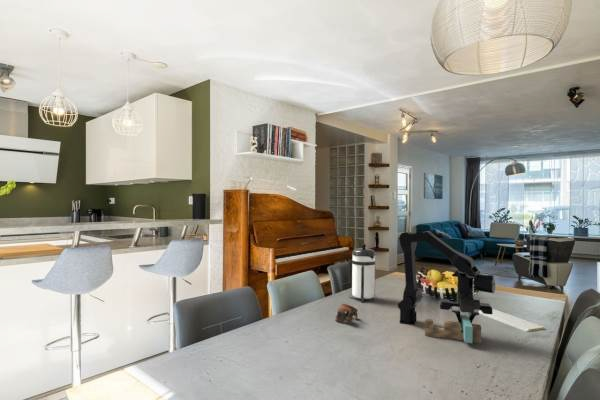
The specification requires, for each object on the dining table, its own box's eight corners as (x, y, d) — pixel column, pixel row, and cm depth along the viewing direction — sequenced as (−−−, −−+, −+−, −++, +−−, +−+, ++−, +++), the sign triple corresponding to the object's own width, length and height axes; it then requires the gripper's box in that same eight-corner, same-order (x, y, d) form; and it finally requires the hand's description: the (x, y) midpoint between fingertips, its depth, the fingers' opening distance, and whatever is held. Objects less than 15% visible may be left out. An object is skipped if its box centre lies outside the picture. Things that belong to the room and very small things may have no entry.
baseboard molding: (523, 333, 143) (544, 330, 147) (523, 326, 143) (544, 323, 147) (465, 310, 173) (484, 308, 177) (465, 304, 173) (484, 303, 177)
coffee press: (378, 296, 195) (379, 242, 195) (375, 304, 180) (376, 246, 180) (348, 293, 201) (348, 241, 201) (342, 300, 186) (343, 244, 186)
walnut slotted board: (425, 335, 138) (425, 320, 138) (424, 333, 140) (425, 318, 140) (481, 342, 132) (481, 326, 132) (480, 340, 134) (480, 324, 134)
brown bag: (331, 319, 157) (337, 301, 160) (349, 328, 158) (355, 310, 161) (340, 321, 146) (347, 302, 149) (359, 330, 147) (366, 311, 150)
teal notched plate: (460, 329, 141) (460, 314, 141) (467, 330, 141) (467, 315, 141) (464, 342, 128) (465, 326, 128) (472, 343, 127) (472, 326, 127)
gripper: (441, 291, 134) (440, 331, 134) (495, 296, 128) (495, 338, 128) (439, 284, 145) (438, 322, 145) (489, 289, 139) (489, 328, 139)
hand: (464, 327), depth 139 cm, fingers closed on teal notched plate, 2 cm apart
